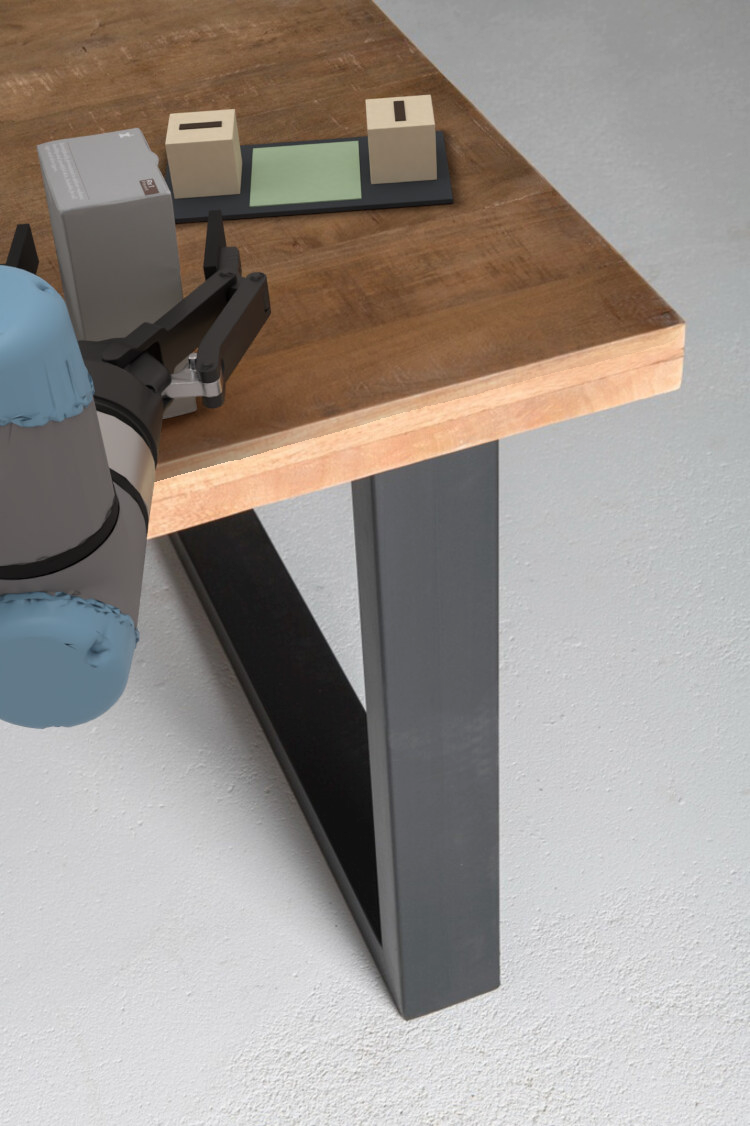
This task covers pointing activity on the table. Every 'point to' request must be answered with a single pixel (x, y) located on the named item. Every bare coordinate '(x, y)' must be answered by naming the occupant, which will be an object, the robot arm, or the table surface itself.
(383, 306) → the table surface
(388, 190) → the dark base board
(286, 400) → the table surface
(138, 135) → the cosmetic box
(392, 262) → the table surface
